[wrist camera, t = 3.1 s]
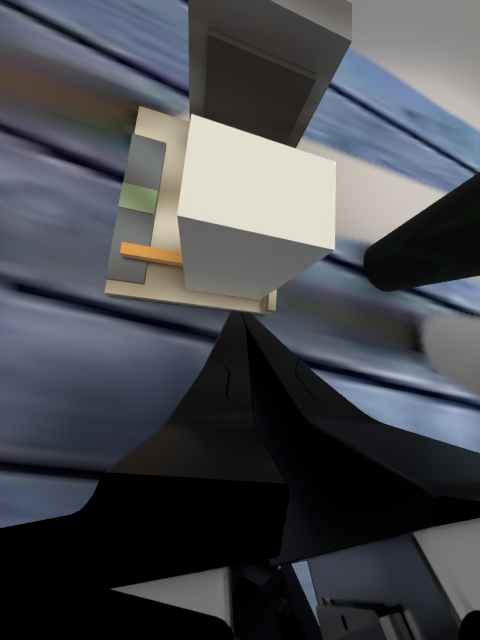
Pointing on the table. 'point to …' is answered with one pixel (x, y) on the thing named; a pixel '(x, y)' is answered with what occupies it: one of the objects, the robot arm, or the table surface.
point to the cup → (431, 244)
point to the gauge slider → (247, 213)
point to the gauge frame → (231, 110)
